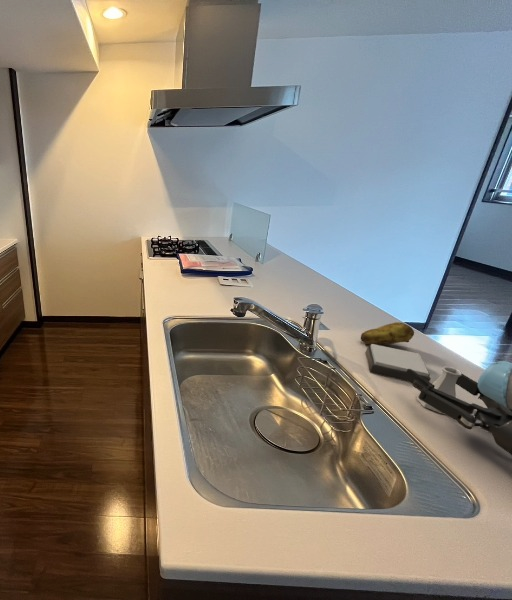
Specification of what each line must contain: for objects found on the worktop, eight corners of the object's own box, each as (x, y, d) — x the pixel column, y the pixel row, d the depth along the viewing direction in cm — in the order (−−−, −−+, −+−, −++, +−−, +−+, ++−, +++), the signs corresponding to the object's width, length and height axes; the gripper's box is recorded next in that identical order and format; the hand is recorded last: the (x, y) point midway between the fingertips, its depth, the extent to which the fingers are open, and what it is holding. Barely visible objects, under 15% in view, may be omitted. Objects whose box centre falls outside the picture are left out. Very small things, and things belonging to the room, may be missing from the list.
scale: (419, 364, 92) (423, 353, 91) (430, 387, 83) (435, 376, 81) (365, 352, 98) (368, 342, 97) (369, 372, 89) (373, 361, 87)
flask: (451, 400, 78) (468, 366, 74) (461, 419, 72) (481, 384, 68) (412, 391, 81) (427, 358, 77) (419, 408, 75) (435, 374, 72)
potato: (355, 334, 108) (362, 313, 105) (404, 343, 102) (413, 321, 99) (359, 346, 101) (367, 323, 98) (412, 356, 96) (421, 333, 93)
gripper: (466, 461, 60) (377, 385, 80) (590, 463, 59) (469, 386, 79) (484, 431, 57) (387, 360, 77) (615, 432, 56) (482, 360, 76)
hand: (428, 373), depth 78 cm, fingers open, 10 cm apart
